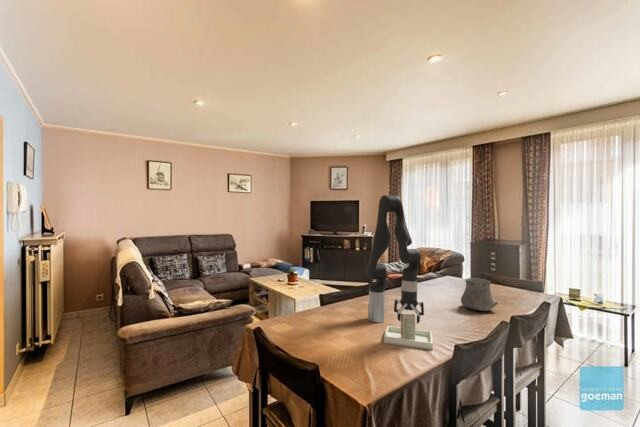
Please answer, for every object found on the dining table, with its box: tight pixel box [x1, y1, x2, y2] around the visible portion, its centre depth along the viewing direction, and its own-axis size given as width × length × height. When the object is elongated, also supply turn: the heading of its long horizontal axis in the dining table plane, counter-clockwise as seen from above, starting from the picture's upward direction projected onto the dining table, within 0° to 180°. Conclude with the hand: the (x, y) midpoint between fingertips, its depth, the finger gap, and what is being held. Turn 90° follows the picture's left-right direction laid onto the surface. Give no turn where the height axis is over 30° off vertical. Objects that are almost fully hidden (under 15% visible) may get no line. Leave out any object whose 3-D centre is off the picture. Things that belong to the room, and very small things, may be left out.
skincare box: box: [400, 312, 416, 340], centre depth 151 cm, size 6×4×12 cm
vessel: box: [460, 277, 499, 312], centre depth 206 cm, size 22×22×20 cm
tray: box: [383, 325, 434, 351], centre depth 151 cm, size 22×16×3 cm
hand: (408, 321), depth 151 cm, fingers open, 8 cm apart
